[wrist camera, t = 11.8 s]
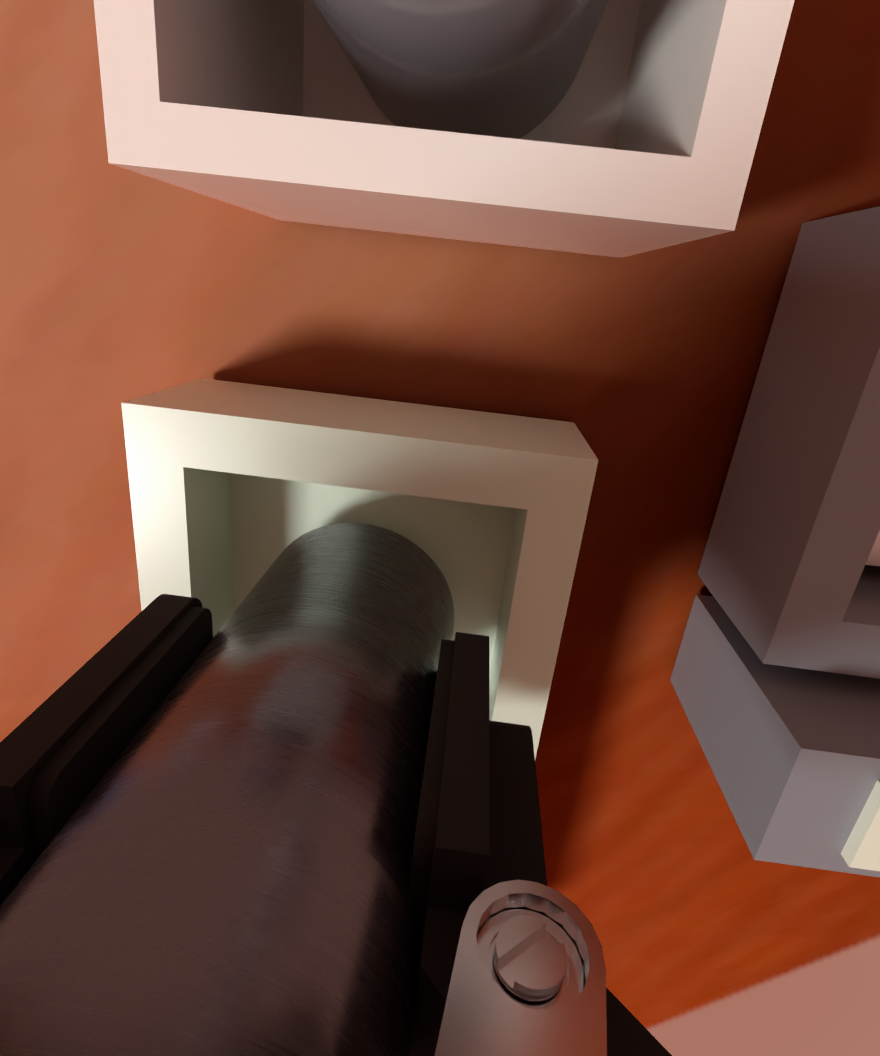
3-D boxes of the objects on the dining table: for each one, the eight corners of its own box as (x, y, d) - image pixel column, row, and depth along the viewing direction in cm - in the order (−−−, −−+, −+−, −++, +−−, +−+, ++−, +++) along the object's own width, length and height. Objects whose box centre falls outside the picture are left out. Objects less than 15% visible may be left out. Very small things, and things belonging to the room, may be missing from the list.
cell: (263, 510, 12) (-447, 1200, 3) (465, 536, 12) (393, 1344, 3) (264, 679, 13) (-200, 1482, 4) (443, 703, 13) (349, 1582, 4)
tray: (201, 378, 13) (121, 402, 10) (574, 422, 13) (598, 460, 10) (224, 871, 18) (177, 974, 16) (481, 908, 18) (480, 1019, 15)
